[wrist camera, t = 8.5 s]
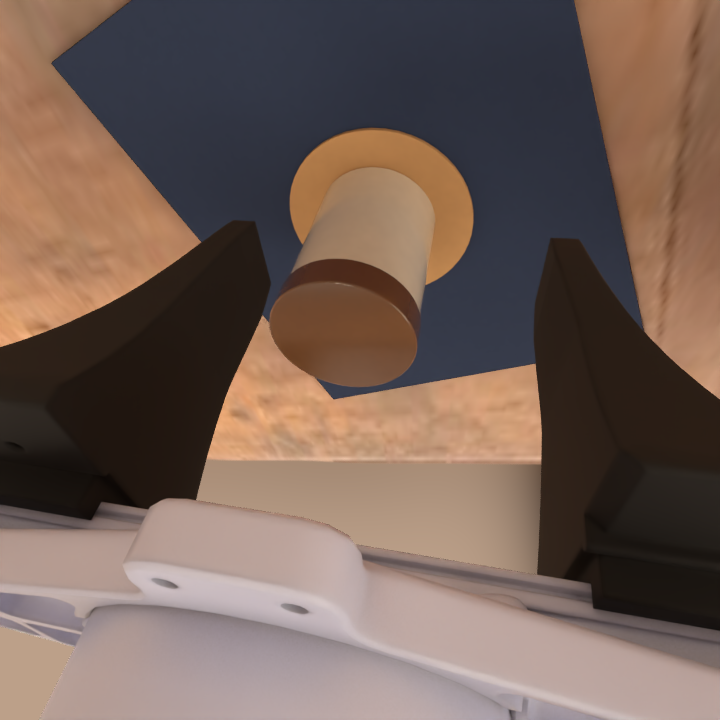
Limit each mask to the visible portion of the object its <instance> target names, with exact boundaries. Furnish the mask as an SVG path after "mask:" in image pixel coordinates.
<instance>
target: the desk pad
mask: <svg viewBox="0 0 720 720" xmlns="http://www.w3.org/2000/svg"><path fill="white" fill-rule="evenodd" d="M52 65H53V66H54V67H55V69H56V70H57V71H58V72H59V73H60V75H61V76H62V77H63V78H64V79H65V80H66V82H67V83H68V84H69V85H70V86H71V88H72V89H73V90H74V91H75V92H76V94H77V95H78V96H79V97H80V98H81V100H82V101H83V102H84V103H85V104H86V105H87V107H88V108H89V109H90V110H91V111H92V113H93V114H94V115H95V116H96V117H97V119H98V120H99V121H100V122H101V123H102V124H103V126H104V127H105V128H106V129H107V130H108V132H109V133H110V134H111V135H112V136H113V138H114V139H115V140H116V141H117V142H118V144H119V145H120V146H121V147H122V148H123V149H124V151H125V152H126V153H127V154H128V155H129V157H130V158H131V159H132V160H133V161H134V163H135V164H136V165H137V166H138V167H139V168H140V170H141V171H142V172H143V173H144V174H145V176H146V177H147V178H148V179H149V180H150V182H151V183H152V184H153V185H154V186H155V188H156V189H157V190H158V191H159V192H160V193H161V195H162V196H163V197H164V198H165V199H166V201H167V202H168V203H169V204H170V205H171V207H172V208H173V209H174V210H175V211H176V212H177V214H178V215H179V216H180V217H181V218H182V220H183V221H184V222H185V223H186V224H187V226H188V227H189V228H190V229H191V230H192V232H193V233H194V234H195V235H196V236H197V237H198V239H199V240H200V241H201V242H203V241H204V240H206V239H207V238H208V237H210V236H211V235H212V234H214V233H215V232H216V231H218V230H219V229H220V228H222V227H223V226H225V225H226V224H228V223H229V222H231V221H232V220H240V221H255V222H256V226H257V230H258V234H259V238H260V242H261V246H262V249H263V253H264V257H265V261H266V265H267V269H268V273H269V277H270V281H271V286H270V290H269V294H268V297H267V301H266V304H265V307H264V311H263V314H262V315H263V316H264V317H265V318H266V319H267V321H268V322H269V319H270V313H271V310H272V307H273V305H274V302H275V300H276V298H277V296H278V293H279V291H280V289H281V287H282V285H283V283H284V281H285V280H286V279H287V277H288V276H289V275H290V273H291V271H292V269H293V266H294V264H295V262H296V259H297V257H298V255H299V252H300V250H301V248H302V246H303V243H304V241H305V239H306V236H307V234H308V232H309V229H310V227H311V225H312V223H313V220H314V218H315V216H316V213H317V211H318V209H319V206H320V204H321V202H322V200H323V197H324V195H325V193H326V191H327V189H328V188H329V187H330V185H331V184H332V183H333V182H334V181H335V180H336V179H338V178H339V177H340V176H342V175H344V174H346V173H348V172H350V171H352V170H355V169H359V168H365V167H381V168H386V169H390V170H393V171H397V172H399V173H401V174H403V175H405V176H407V177H408V178H410V179H411V180H413V181H414V182H415V183H416V184H418V186H419V187H420V188H421V189H422V190H423V191H424V192H425V194H426V195H427V196H428V198H429V200H430V202H431V204H432V207H433V209H434V214H435V222H436V223H435V232H434V238H433V244H432V250H431V255H430V261H429V267H428V273H427V278H426V284H425V290H424V296H423V301H422V307H421V313H420V316H421V330H420V336H419V342H418V347H417V352H416V356H415V359H414V361H413V363H412V364H411V366H410V367H409V368H408V369H407V370H406V371H405V372H404V373H403V374H402V375H401V376H399V377H398V378H396V379H394V380H392V381H390V382H387V383H384V384H380V385H376V386H369V387H350V386H343V385H338V384H333V383H330V382H326V381H323V380H321V379H318V378H316V377H315V378H316V379H317V380H318V381H319V383H320V384H321V385H322V386H323V387H324V388H325V390H326V391H327V392H328V393H329V394H330V396H331V397H332V398H333V399H338V398H344V397H350V396H355V395H361V394H367V393H372V392H378V391H383V390H389V389H395V388H400V387H406V386H412V385H417V384H423V383H429V382H434V381H440V380H446V379H451V378H457V377H462V376H468V375H474V374H479V373H485V372H491V371H496V370H502V369H508V368H513V367H519V366H525V365H530V364H536V361H535V351H534V310H535V301H536V297H537V292H538V288H539V284H540V280H541V276H542V272H543V267H544V263H545V259H546V255H547V251H548V247H549V243H550V238H568V239H579V240H580V241H581V243H582V244H583V246H584V247H585V249H586V251H587V252H588V254H589V256H590V257H591V259H592V261H593V262H594V264H595V266H596V267H597V269H598V270H599V272H600V273H601V275H602V277H603V278H604V280H605V281H606V283H607V284H608V286H609V287H610V288H611V290H612V291H613V293H614V294H615V295H616V297H617V298H618V300H619V301H620V302H621V304H622V305H623V306H624V308H625V309H626V310H627V312H628V313H629V314H630V315H631V317H632V318H633V319H634V320H635V321H636V323H637V324H638V325H639V326H640V328H641V329H642V330H643V331H644V329H643V325H642V320H641V315H640V311H639V306H638V301H637V296H636V292H635V287H634V282H633V277H632V273H631V268H630V263H629V259H628V254H627V249H626V244H625V240H624V235H623V230H622V225H621V221H620V216H619V211H618V206H617V202H616V197H615V192H614V188H613V183H612V178H611V173H610V169H609V164H608V159H607V154H606V150H605V145H604V140H603V135H602V131H601V126H600V121H599V117H598V112H597V107H596V102H595V98H594V93H593V88H592V83H591V79H590V74H589V69H588V64H587V60H586V55H585V50H584V46H583V41H582V36H581V31H580V27H579V22H578V17H577V12H576V8H575V3H574V0H131V1H130V2H129V3H127V4H126V5H125V6H124V7H122V8H121V9H120V10H118V11H117V12H116V13H115V14H113V15H112V16H111V17H110V18H108V19H107V20H106V21H104V22H103V23H102V24H101V25H99V26H98V27H97V28H95V29H94V30H93V31H92V32H90V33H89V34H88V35H86V36H85V37H84V38H83V39H81V40H80V41H79V42H77V43H76V44H75V45H74V46H72V47H71V48H70V49H68V50H67V51H66V52H65V53H63V54H62V55H61V56H59V57H58V58H57V59H56V60H54V61H53V62H52ZM269 323H270V322H269Z"/></svg>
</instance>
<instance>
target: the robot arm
mask: <svg viewBox="0 0 720 720" xmlns="http://www.w3.org/2000/svg"><path fill="white" fill-rule="evenodd" d="M270 286H271V281H270V277H269V273H268V269H267V265H266V261H265V257H264V253H263V249H262V246H261V242H260V238H259V234H258V230H257V226H256V222H255V221H240V220H232V221H231V222H229V223H228V224H226V225H225V226H223V227H222V228H220V229H219V230H218V231H216V232H215V233H214V234H212V235H211V236H210V237H208V238H207V239H206V240H204V241H203V242H202V243H200V244H199V245H198V246H196V247H195V248H194V249H192V250H191V251H189V252H188V253H187V254H185V255H184V256H183V257H181V258H180V259H179V260H177V261H176V262H175V263H173V264H172V265H170V266H169V267H167V268H166V269H164V270H163V271H161V272H160V273H158V274H157V275H155V276H154V277H152V278H151V279H150V280H148V281H147V282H145V283H144V284H142V285H140V286H139V287H137V288H135V289H134V290H132V291H130V292H129V293H127V294H125V295H123V296H122V297H120V298H118V299H116V300H114V301H113V302H111V303H109V304H107V305H105V306H103V307H101V308H99V309H97V310H95V311H92V312H90V313H88V314H86V315H84V316H82V317H80V318H77V319H75V320H73V321H71V322H69V323H67V324H64V325H62V326H59V327H57V328H54V329H52V330H49V331H47V332H44V333H41V334H39V335H36V336H33V337H30V338H28V339H25V340H22V341H19V342H16V343H13V344H9V345H6V346H3V347H0V627H4V628H8V629H11V630H15V631H19V632H22V633H26V634H29V635H33V636H37V637H40V638H44V639H48V640H51V641H55V642H58V643H62V644H66V645H69V646H73V647H75V648H74V650H73V652H72V654H71V656H70V658H69V660H68V662H67V664H66V666H65V668H64V670H63V672H62V674H61V676H60V678H59V680H58V682H57V684H56V686H55V688H54V690H53V692H52V695H51V696H50V699H49V700H48V702H47V704H46V707H45V708H44V710H43V712H42V715H41V717H40V719H39V720H720V399H718V398H717V397H716V396H714V395H713V394H712V393H711V392H709V391H708V390H707V389H705V388H704V387H703V386H702V385H700V384H699V383H698V382H697V381H696V380H695V379H693V378H692V377H691V376H690V375H689V374H687V373H686V372H685V371H684V370H683V369H681V368H680V367H679V366H678V365H677V364H676V363H675V362H674V361H673V360H671V359H670V358H669V357H668V356H667V355H666V354H665V353H664V352H663V351H662V350H661V349H660V348H659V347H658V346H657V345H656V344H655V343H654V342H653V341H652V340H651V339H650V338H649V337H648V335H647V334H646V333H645V332H644V331H643V330H642V329H641V328H640V326H639V325H638V324H637V323H636V321H635V320H634V319H633V318H632V317H631V315H630V314H629V313H628V312H627V310H626V309H625V308H624V306H623V305H622V304H621V302H620V301H619V300H618V298H617V297H616V295H615V294H614V293H613V291H612V290H611V288H610V287H609V286H608V284H607V283H606V281H605V280H604V278H603V277H602V275H601V273H600V272H599V270H598V269H597V267H596V266H595V264H594V262H593V261H592V259H591V257H590V256H589V254H588V252H587V251H586V249H585V247H584V246H583V244H582V243H581V241H580V240H579V239H568V238H550V243H549V247H548V251H547V255H546V259H545V263H544V267H543V272H542V276H541V280H540V284H539V288H538V292H537V297H536V301H535V310H534V351H535V361H536V371H537V381H538V391H539V401H540V411H541V425H542V465H541V467H542V468H541V507H540V530H539V552H538V570H537V575H536V574H530V573H523V572H518V571H512V570H506V569H500V568H494V567H487V566H482V565H476V564H470V563H464V562H458V561H451V560H446V559H440V558H433V557H428V556H422V555H416V554H410V553H404V552H398V551H392V550H386V549H380V548H374V547H368V546H362V545H357V544H355V543H354V542H353V541H352V539H351V538H350V537H349V536H348V535H347V534H345V533H343V532H341V531H339V530H338V529H336V528H334V527H332V526H330V525H328V524H325V523H321V522H317V521H314V520H310V519H306V518H302V517H296V516H290V515H284V514H277V513H271V512H265V511H259V510H253V509H247V508H241V507H234V506H228V505H222V504H216V503H210V502H203V501H197V500H196V498H197V493H198V489H199V485H200V481H201V478H202V473H203V470H204V466H205V462H206V458H207V455H208V451H209V448H210V445H211V441H212V438H213V434H214V431H215V428H216V424H217V421H218V418H219V415H220V412H221V409H222V406H223V403H224V400H225V397H226V394H227V392H228V389H229V387H230V384H231V382H232V380H233V377H234V375H235V373H236V371H237V369H238V367H239V365H240V362H241V360H242V358H243V356H244V354H245V352H246V350H247V348H248V345H249V343H250V341H251V339H252V337H253V335H254V332H255V330H256V328H257V326H258V324H259V321H260V319H261V317H262V314H263V311H264V307H265V304H266V301H267V297H268V294H269V290H270Z"/></svg>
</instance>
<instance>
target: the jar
mask: <svg viewBox="0 0 720 720" xmlns="http://www.w3.org/2000/svg"><path fill="white" fill-rule="evenodd" d="M435 223H436V222H435V214H434V209H433V207H432V204H431V202H430V200H429V198H428V196H427V195H426V194H425V192H424V191H423V190H422V189H421V188H420V187H419V186H418V184H416V183H415V182H414V181H413V180H411V179H410V178H408V177H407V176H405V175H403V174H401V173H399V172H397V171H393V170H390V169H386V168H381V167H365V168H359V169H355V170H352V171H350V172H348V173H346V174H344V175H342V176H340V177H339V178H338V179H336V180H335V181H334V182H333V183H332V184H331V185H330V187H329V188H328V189H327V191H326V193H325V195H324V197H323V200H322V202H321V204H320V206H319V209H318V211H317V213H316V216H315V218H314V220H313V223H312V225H311V227H310V229H309V232H308V234H307V236H306V239H305V241H304V243H303V246H302V248H301V250H300V252H299V255H298V257H297V259H296V262H295V264H294V266H293V269H292V271H291V273H290V275H289V276H288V277H287V279H286V280H285V281H284V283H283V285H282V287H281V289H280V291H279V293H278V296H277V298H276V300H275V302H274V305H273V307H272V310H271V313H270V319H269V322H270V330H271V335H272V337H273V339H274V342H275V343H276V345H277V347H278V348H279V350H280V351H281V352H282V354H283V355H284V356H285V357H286V358H287V359H288V360H289V361H290V362H292V363H293V364H294V365H295V366H297V367H298V368H300V369H301V370H303V371H304V372H306V373H308V374H310V375H312V376H314V377H316V378H318V379H321V380H323V381H326V382H330V383H333V384H338V385H343V386H350V387H369V386H376V385H380V384H384V383H387V382H390V381H392V380H394V379H396V378H398V377H399V376H401V375H402V374H403V373H404V372H405V371H406V370H407V369H408V368H409V367H410V366H411V364H412V363H413V361H414V359H415V356H416V352H417V347H418V342H419V336H420V330H421V316H420V313H421V307H422V301H423V296H424V290H425V284H426V278H427V273H428V267H429V261H430V255H431V250H432V244H433V238H434V232H435Z"/></svg>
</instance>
